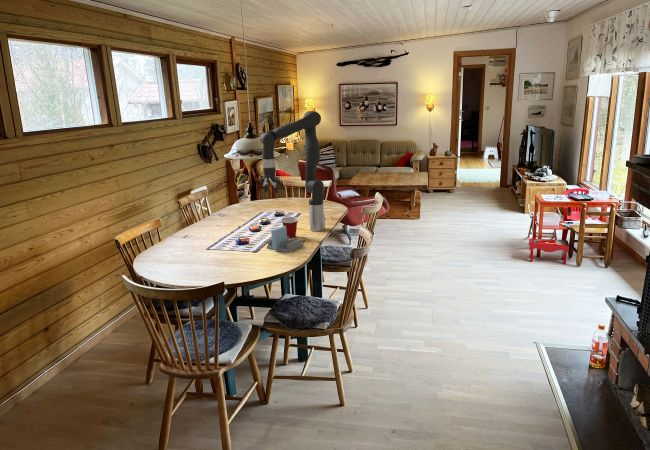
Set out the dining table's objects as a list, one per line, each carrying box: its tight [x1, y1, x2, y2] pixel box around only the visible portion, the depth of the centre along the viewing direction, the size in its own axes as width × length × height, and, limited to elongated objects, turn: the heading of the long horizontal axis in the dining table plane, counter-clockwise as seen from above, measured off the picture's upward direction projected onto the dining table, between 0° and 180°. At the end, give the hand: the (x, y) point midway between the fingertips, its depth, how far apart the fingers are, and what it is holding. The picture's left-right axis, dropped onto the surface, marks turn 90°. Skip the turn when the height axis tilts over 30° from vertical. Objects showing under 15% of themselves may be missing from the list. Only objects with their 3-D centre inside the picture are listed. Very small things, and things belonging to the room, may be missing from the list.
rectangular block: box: [270, 225, 287, 249], centre depth 270 cm, size 10×2×11 cm, turn 144°
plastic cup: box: [280, 216, 299, 239], centre depth 292 cm, size 11×11×12 cm
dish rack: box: [266, 237, 304, 253], centre depth 274 cm, size 14×16×4 cm
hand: (271, 192), depth 291 cm, fingers open, 8 cm apart
